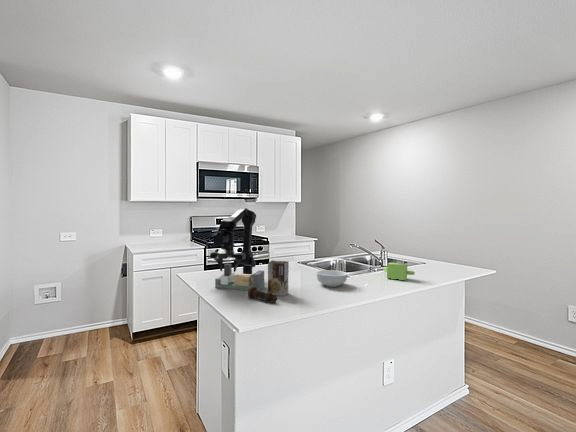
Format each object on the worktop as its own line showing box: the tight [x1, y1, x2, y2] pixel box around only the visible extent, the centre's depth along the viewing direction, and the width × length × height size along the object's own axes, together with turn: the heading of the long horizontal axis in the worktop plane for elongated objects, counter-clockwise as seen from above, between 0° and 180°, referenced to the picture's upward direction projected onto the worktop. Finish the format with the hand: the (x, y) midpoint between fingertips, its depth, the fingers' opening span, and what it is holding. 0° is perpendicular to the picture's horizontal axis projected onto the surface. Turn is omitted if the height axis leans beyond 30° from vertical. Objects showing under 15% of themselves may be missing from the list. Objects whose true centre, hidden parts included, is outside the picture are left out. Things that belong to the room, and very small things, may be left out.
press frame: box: [214, 270, 265, 291], centre depth 174 cm, size 10×24×8 cm, turn 76°
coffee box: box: [267, 260, 289, 297], centre depth 163 cm, size 9×6×16 cm
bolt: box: [247, 287, 279, 303], centre depth 152 cm, size 6×5×15 cm
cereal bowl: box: [316, 269, 348, 288], centre depth 182 cm, size 17×17×7 cm
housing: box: [234, 273, 253, 286], centre depth 174 cm, size 6×8×5 cm
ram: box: [220, 263, 236, 285], centre depth 176 cm, size 9×4×10 cm, turn 166°
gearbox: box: [382, 262, 416, 281], centre depth 199 cm, size 18×10×10 cm, turn 62°
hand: (227, 271), depth 176 cm, fingers open, 7 cm apart
